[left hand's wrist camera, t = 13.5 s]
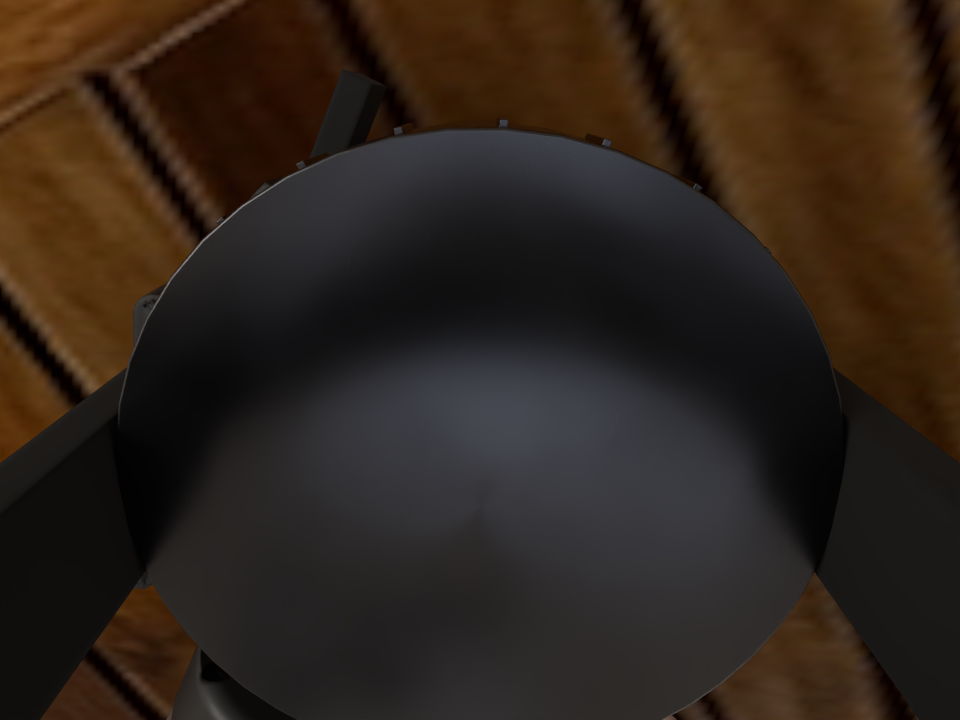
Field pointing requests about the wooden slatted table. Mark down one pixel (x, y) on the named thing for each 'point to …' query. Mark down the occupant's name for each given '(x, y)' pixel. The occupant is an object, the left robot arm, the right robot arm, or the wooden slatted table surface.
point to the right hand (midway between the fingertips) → (550, 170)
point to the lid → (480, 434)
